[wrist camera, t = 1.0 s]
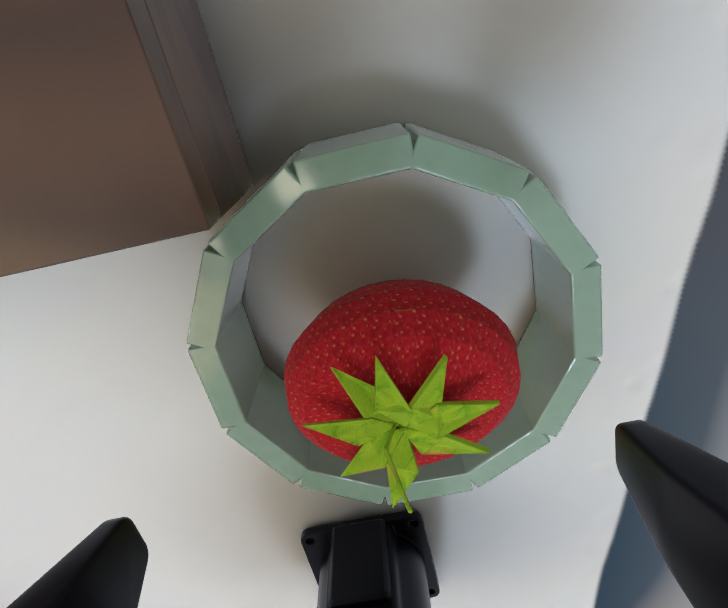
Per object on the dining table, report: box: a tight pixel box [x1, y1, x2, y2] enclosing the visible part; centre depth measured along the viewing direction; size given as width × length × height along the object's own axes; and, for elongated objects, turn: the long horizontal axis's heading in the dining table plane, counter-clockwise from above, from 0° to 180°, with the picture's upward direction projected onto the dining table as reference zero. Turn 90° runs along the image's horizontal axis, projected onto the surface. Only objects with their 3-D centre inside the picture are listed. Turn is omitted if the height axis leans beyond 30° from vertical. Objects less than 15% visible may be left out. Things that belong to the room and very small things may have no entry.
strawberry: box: [284, 280, 521, 513], centre depth 16 cm, size 6×8×10 cm
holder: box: [187, 123, 602, 505], centre depth 18 cm, size 14×14×4 cm
